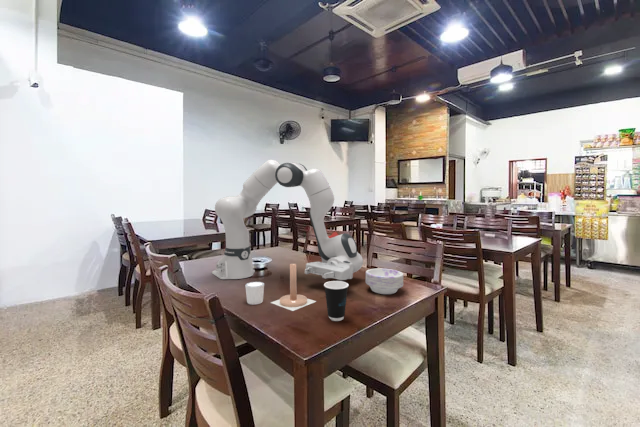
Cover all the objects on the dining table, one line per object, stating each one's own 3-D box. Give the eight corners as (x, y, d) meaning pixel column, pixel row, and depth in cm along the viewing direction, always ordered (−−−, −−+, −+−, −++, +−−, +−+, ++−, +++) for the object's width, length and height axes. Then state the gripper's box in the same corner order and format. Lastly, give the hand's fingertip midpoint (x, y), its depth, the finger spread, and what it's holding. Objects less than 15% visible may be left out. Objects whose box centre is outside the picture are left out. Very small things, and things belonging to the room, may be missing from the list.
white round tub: (260, 306, 106) (259, 287, 105) (242, 305, 107) (241, 286, 107) (267, 300, 112) (267, 281, 112) (250, 298, 114) (250, 280, 113)
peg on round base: (274, 302, 109) (273, 264, 108) (294, 295, 116) (293, 260, 115) (292, 309, 102) (292, 269, 101) (312, 301, 109) (312, 263, 109)
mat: (270, 303, 109) (270, 302, 109) (294, 295, 118) (294, 294, 118) (292, 312, 101) (292, 311, 101) (316, 302, 110) (316, 301, 110)
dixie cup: (325, 312, 100) (325, 280, 100) (349, 313, 99) (349, 281, 98) (322, 322, 92) (322, 287, 92) (347, 323, 91) (347, 288, 91)
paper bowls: (403, 287, 128) (403, 268, 127) (402, 298, 113) (403, 278, 113) (367, 284, 132) (368, 266, 131) (362, 295, 117) (362, 275, 117)
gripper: (318, 256, 134) (295, 262, 124) (355, 263, 121) (334, 270, 110) (318, 270, 135) (296, 277, 124) (355, 279, 121) (334, 287, 111)
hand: (314, 274), depth 117 cm, fingers open, 8 cm apart
